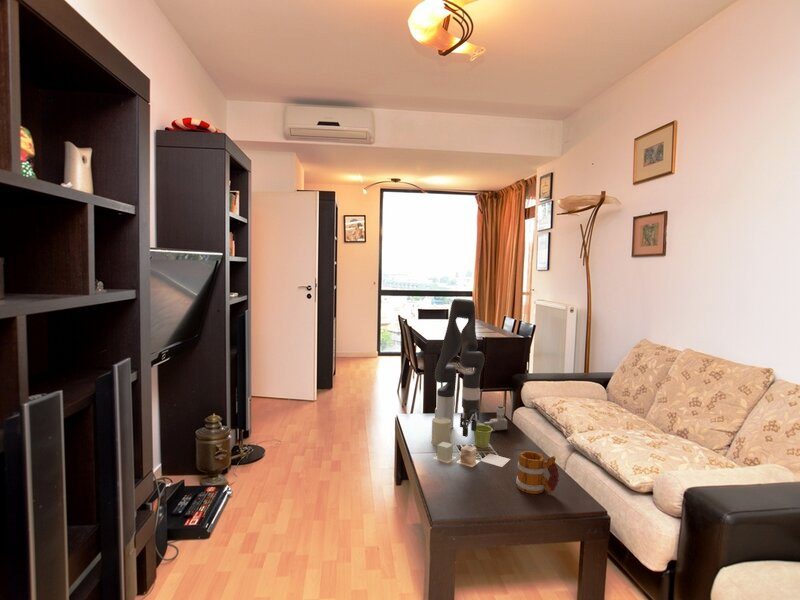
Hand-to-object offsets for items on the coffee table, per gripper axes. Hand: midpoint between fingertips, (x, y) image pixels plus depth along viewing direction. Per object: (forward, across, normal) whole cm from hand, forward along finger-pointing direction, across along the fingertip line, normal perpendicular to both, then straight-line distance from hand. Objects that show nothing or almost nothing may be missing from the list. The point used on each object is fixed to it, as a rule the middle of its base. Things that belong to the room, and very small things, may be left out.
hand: (469, 433), depth 194 cm
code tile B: (+13, +3, -10) cm, 17 cm away
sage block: (+13, +3, -10) cm, 16 cm away
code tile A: (+13, 0, 0) cm, 13 cm away
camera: (+13, -46, -8) cm, 49 cm away
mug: (+14, +6, +32) cm, 35 cm away
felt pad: (+13, -9, +9) cm, 18 cm away
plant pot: (+13, -21, -3) cm, 25 cm away
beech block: (+13, 0, 0) cm, 13 cm away
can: (+13, -11, -20) cm, 26 cm away
